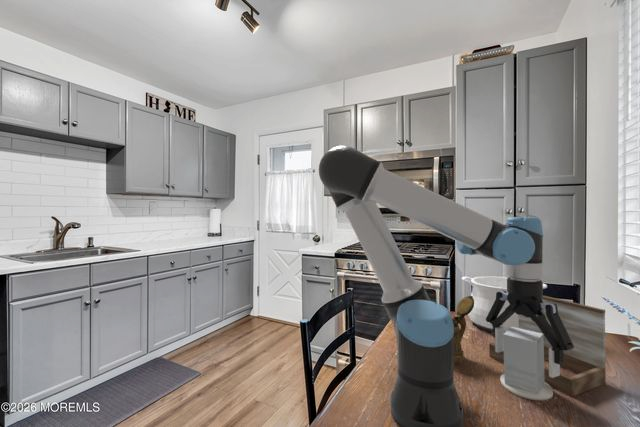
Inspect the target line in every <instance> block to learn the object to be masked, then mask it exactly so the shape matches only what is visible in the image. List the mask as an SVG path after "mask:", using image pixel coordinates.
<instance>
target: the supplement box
mask: <svg viewBox="0 0 640 427" xmlns="http://www.w3.org/2000/svg"><path fill="white" fill-rule="evenodd" d="M503 343H504V363H503V374H504V379H505V384H509V385H512V386H514V387H517V388H520V389H523V390H526V391H529V392H532V393H534V394H537V395H538V394H539V392H540V391H541V389H542V387H543V385H544V383H545V379H544V366H545V360H544V340H543V334H542V333H538V332H533V331H529V330H524V329H520V328H515V327H511V328H510V329H509V330H507V331H506V332H505V333H504V334H503Z"/></svg>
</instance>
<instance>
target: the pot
mask: <svg viewBox="0 0 640 427" xmlns="http://www.w3.org/2000/svg"><path fill="white" fill-rule="evenodd" d="M507 278H508V276H507V277H506V276H494V275H492V276H490V275H489V276H487V275H486V276H485V275H484V276H475V277H470V276H462V277H461V280H462V281H464V282H467V283H469V284H470V285H471V287H472V289H471V290H472V291H471V294H470V296H472V297H473V299H474V307H473V309H472V311H471V312H470V313H469V314H468V315H467V316H468V318H469V319H470V321H471V322H472V324H474V325H475V326H477V327H478V328H481V329H483V330H485V331H489V332H491V333H493V326H492V324H491V323H490V322H487V321H486V317H487V315H488V313H489V311H490V310H491V308H492V306H493V304H494V302H495V300H496V293H497V292H501V291H505V292H506V293H507V294H508V291H507ZM469 279H470V280H469ZM547 288H548V285H547V284H546V283H543V290H544V289H547ZM509 305H510V304H509V302H508V300H506V301H505V303H504V305H503V307H502V309H501V311H500V313H499V315H500V314H501V313H502V312H504V311H505V309H506V308H507V307H508V306H509ZM499 315H498V316H499ZM500 326H503V327H505V332H506V331H507V330H509V329H510V328H511V327H515V328H519V321H518V314H516V313H514V314H513V315H512V316H511V317H510V318H508V319H507V320H506V321H505V322H504V323H503V325H500Z"/></svg>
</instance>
